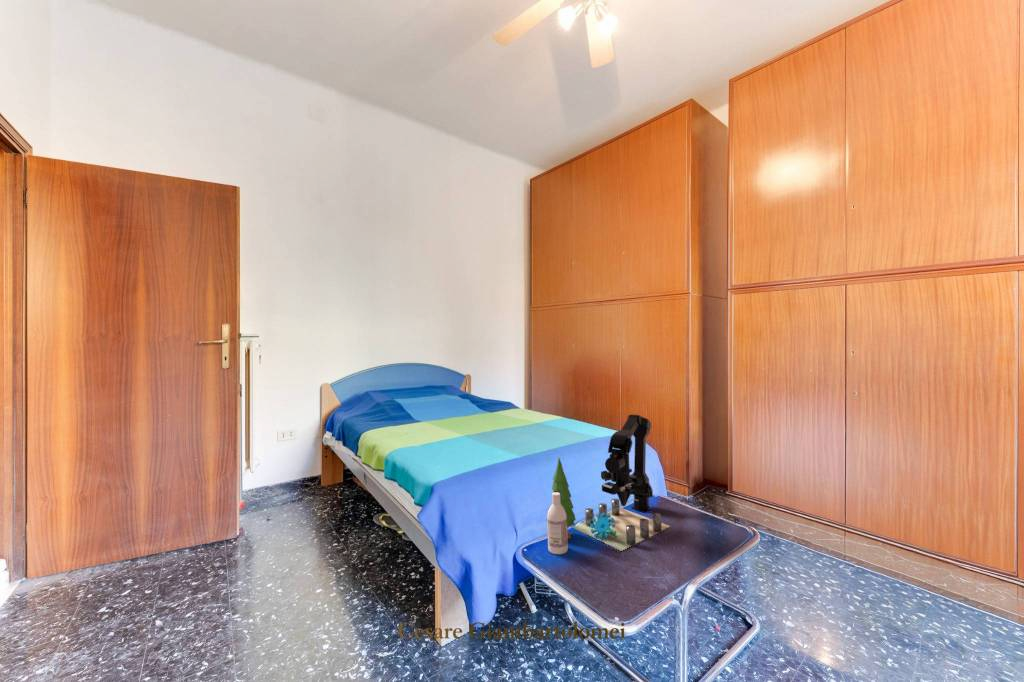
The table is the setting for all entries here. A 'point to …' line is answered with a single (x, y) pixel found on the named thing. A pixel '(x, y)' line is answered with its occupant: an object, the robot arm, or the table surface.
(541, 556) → the table surface
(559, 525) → the bath foam
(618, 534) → the board
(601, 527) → the gear
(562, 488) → the decorative tree
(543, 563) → the table surface
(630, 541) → the spacer posts
